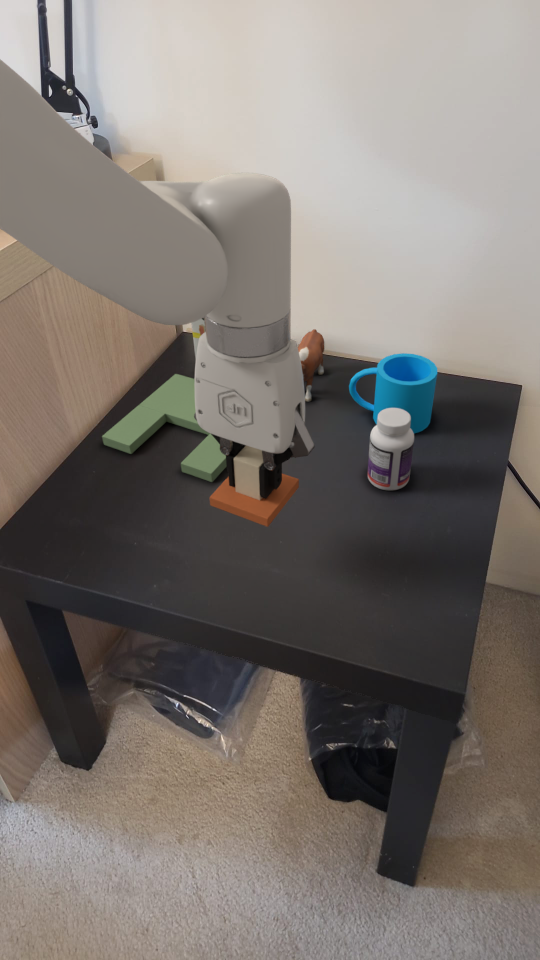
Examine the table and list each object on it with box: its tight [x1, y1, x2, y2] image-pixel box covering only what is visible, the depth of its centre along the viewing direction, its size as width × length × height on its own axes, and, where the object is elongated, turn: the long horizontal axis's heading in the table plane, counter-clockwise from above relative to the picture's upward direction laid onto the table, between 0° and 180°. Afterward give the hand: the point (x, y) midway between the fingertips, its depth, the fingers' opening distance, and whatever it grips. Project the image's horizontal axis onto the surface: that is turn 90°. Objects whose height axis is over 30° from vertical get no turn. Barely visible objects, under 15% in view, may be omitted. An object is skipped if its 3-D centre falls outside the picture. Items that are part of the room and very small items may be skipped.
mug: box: [348, 352, 438, 435], centre depth 96 cm, size 12×8×8 cm
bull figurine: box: [297, 328, 326, 402], centre depth 102 cm, size 4×13×8 cm, turn 158°
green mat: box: [101, 373, 227, 483], centre depth 98 cm, size 18×18×2 cm
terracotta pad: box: [209, 446, 300, 528], centre depth 71 cm, size 7×7×6 cm
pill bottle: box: [367, 408, 415, 491], centre depth 85 cm, size 5×5×10 cm
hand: (254, 483), depth 72 cm, fingers closed on terracotta pad, 3 cm apart
